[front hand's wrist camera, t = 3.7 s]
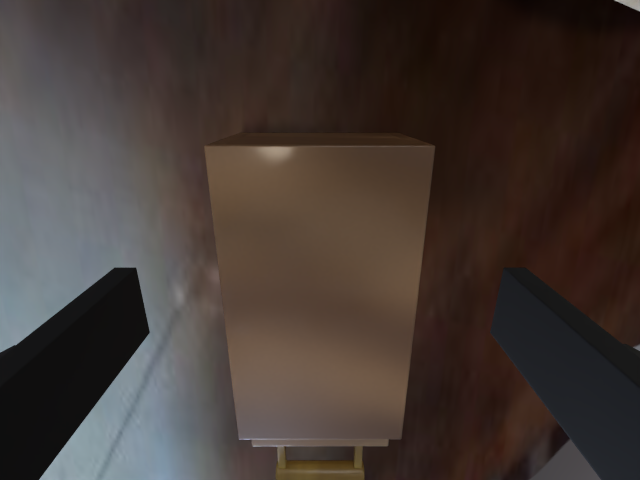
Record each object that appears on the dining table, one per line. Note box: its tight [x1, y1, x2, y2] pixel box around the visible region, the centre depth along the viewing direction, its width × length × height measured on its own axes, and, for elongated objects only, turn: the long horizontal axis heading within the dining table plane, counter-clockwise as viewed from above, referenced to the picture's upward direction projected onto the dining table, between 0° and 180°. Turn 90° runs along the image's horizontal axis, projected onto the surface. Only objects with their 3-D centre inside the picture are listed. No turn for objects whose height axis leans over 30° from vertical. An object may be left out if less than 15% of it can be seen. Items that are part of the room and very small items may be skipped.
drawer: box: [251, 439, 389, 480], centre depth 25 cm, size 24×10×6 cm, turn 0°
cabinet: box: [204, 133, 435, 439], centre depth 24 cm, size 19×11×8 cm, turn 0°
